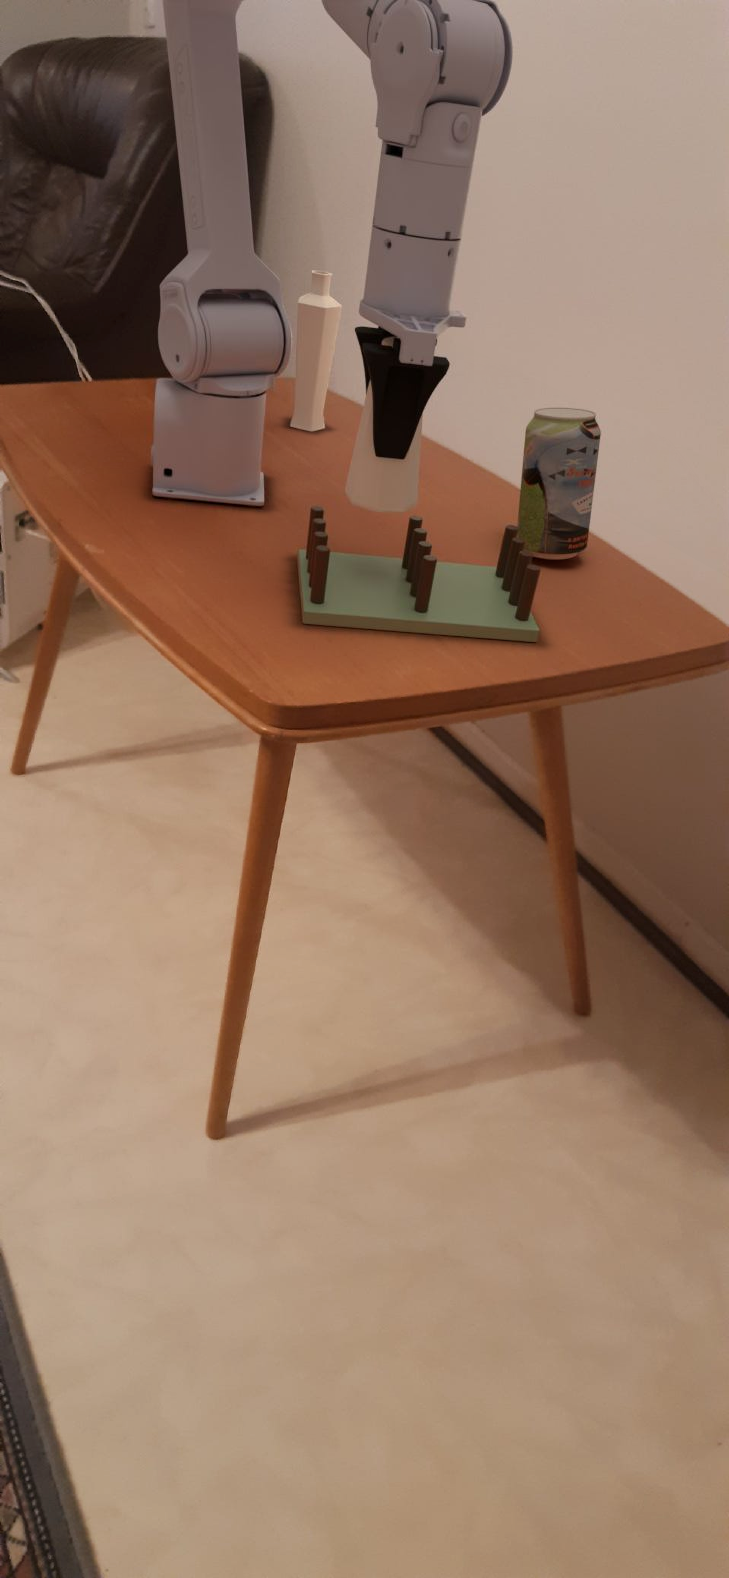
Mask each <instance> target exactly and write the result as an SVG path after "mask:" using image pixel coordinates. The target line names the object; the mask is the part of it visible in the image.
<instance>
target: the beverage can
mask: <svg viewBox="0 0 729 1578" xmlns="http://www.w3.org/2000/svg"><path fill="white" fill-rule="evenodd" d="M533 413H534V414H533V417H532V419H531V420H530V421H529V422H528V423H527V425H526V427H525V434H524V445H523V446H524V447H523V455H522V456H523V458H522V468H521V478H520V479H521V480H520V490H519V491H520V492H519V493H520V494H519V501H518V512H517V513H518V514H517V523H516V524H517V526H516V527H518V533H517V538H522V539H524V540H525V546H524V550H523V551H529V552H531V553H532V554H533V557H534V558H538V559H544V560H566V559H571V558H574V557H576V556H577V555H578V554H579V553H580V552H582V551H584V550H585V549H587V547H588V542H589V533H590V526H591V525H590V524H591V517H592V508H593V501H594V492H595V485H596V484H595V483H596V476H597V469H598V468H597V467H598V459H599V450H600V443H601V435H602V434H601V433H602V431H601V428H600V426H599V424H598V421H597V419H596V416H597V414H596V412H594V411H592V410H588V409H583V408H576V407H574V408H573V407H542V408H537V409H535V410H534V411H533Z"/></svg>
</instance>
